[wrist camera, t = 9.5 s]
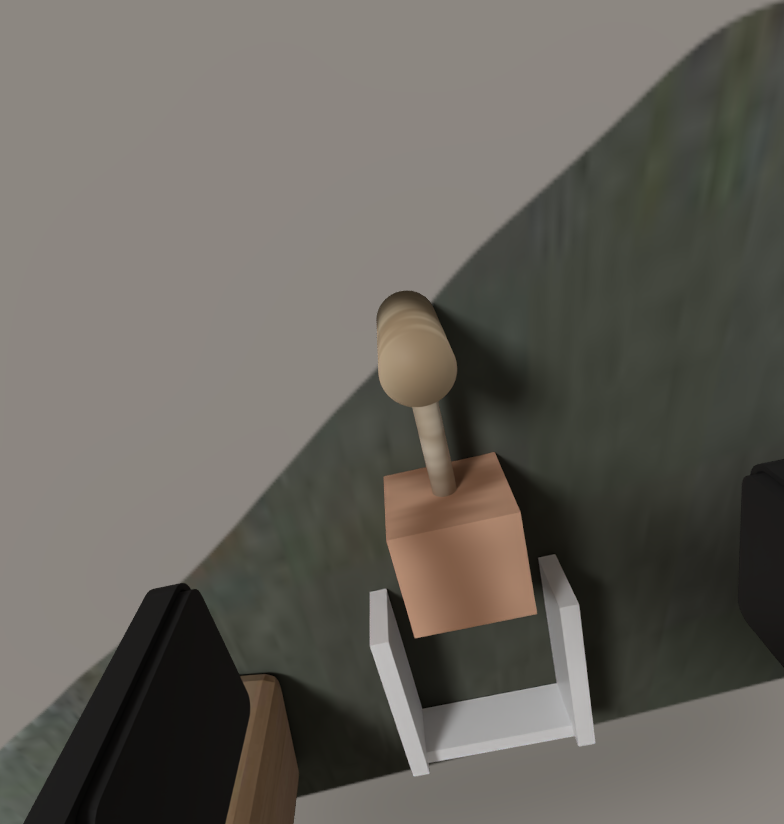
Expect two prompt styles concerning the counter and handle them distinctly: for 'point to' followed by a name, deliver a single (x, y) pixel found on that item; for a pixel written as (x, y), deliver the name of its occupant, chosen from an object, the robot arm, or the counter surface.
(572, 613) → the white u-shaped bracket
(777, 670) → the counter surface
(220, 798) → the robot arm
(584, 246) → the counter surface
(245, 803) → the wooden block
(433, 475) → the block
